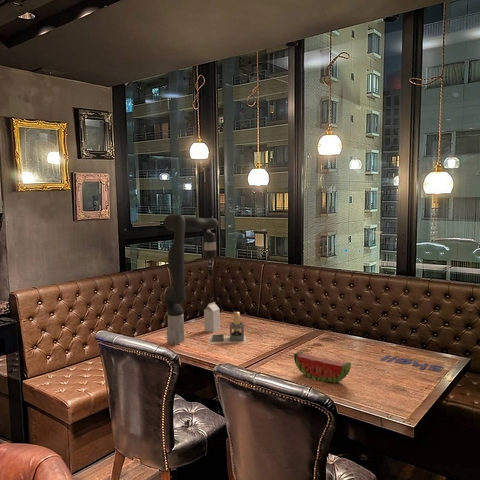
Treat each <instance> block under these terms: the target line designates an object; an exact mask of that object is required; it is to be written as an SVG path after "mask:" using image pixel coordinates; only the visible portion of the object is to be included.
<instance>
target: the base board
mask: <svg viewBox="0 0 480 480" xmlns="http://www.w3.org/2000/svg"><path fill="white" fill-rule="evenodd" d="M212 336H213V335H210V336H209V337H208V344H210V345H212V344H213V345H214V344H217V345H218V344H247V336H246V335H244V341H230V335H224V341H213V342H212Z"/></svg>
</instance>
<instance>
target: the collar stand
mask: <svg viewBox="0 0 480 480" xmlns="http://www.w3.org/2000/svg"><path fill="white" fill-rule="evenodd" d="M244 328H245V327H244V322H243V321H240V325H238V326H234V321H233V322H232V321H231V322H229V336H230V341H244V334H245V333H244V331H245V330H244ZM234 329H240V336H234V331H233V330H234ZM211 336H212V342H213V341H224V336H225V335H224V334H212V335H211Z"/></svg>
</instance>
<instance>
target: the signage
mask: <svg viewBox="0 0 480 480" xmlns="http://www.w3.org/2000/svg"><path fill="white" fill-rule="evenodd" d="M379 361H381V362H386V363H392V362H393V361H394V364H395V363H396V364H401V365H410V364H411V366H412V367H416V368H417V367H419V368H418V369H419V370H423V371H424V370H425V369H427V370H428V371H432V372H441V371H442V369H444V368H445V367H444V366H442V365H441V366H440V365H437V364H429V363H427V362H425V363H423V364H422V363H421V364H420V363H419V361H417V360H414V361H413V359H408V358H405V357H404V358H403V357H397V356H392V357H391V355H390V354H387V355H385V356H384V357H382V358H381V359H380V360H379ZM412 361H413V362H412ZM428 366H429V367H428Z"/></svg>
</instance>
